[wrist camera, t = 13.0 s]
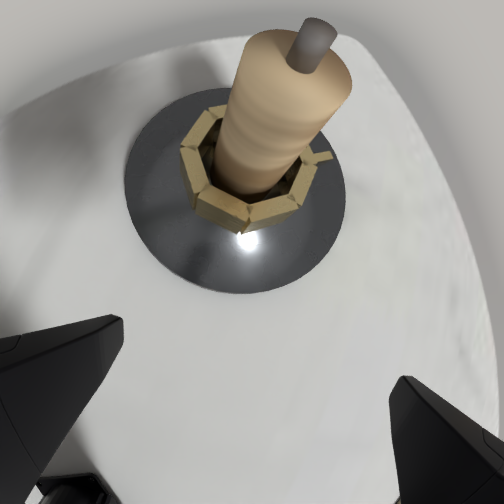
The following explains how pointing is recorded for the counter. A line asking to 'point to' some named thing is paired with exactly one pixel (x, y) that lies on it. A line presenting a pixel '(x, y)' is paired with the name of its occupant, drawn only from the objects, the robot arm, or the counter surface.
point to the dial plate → (206, 239)
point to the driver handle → (277, 107)
